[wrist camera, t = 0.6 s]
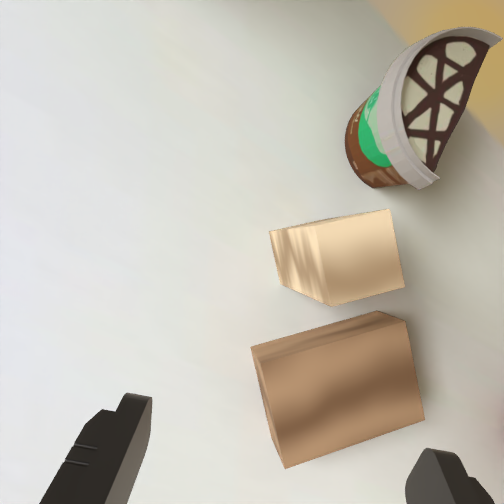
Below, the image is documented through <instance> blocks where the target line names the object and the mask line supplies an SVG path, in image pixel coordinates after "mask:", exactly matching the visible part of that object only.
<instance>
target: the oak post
mask: <svg viewBox="0 0 504 504" xmlns="http://www.w3.org/2000/svg"><path fill="white" fill-rule="evenodd" d="M269 234H270V239H271V243H272V248H273V253H274V257H275V262H276V266H277V271H278V276H279V280H280V284H282V285H284V286H286V287H288V288H291V289H293V290H295V291H297V292H300V293H302V294H304V295H306V296H308V297H311V298H313V299H315V300H317V301H320V302H322V303H324V304H326V305H328V306H331V307H333V306H337V305H340V304H344V303H348V302H351V301H355V300H359V299H362V298H366V297H370V296H374V295H377V294H381V293H385V292H388V291H392V290H396V289H399V288H403V287H405V285H404V279H403V274H402V269H401V264H400V259H399V254H398V248H397V243H396V238H395V233H394V228H393V222H392V217H391V212H390V209H385V210H379V211H373V212H367V213H361V214H355V215H349V216H343V217H336V218H330V219H324V220H318V221H314V222H309V223H305V224H300V225H296V226H292V227H287V228H283V229H278V230H274V231H269Z"/></svg>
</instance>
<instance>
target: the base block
mask: <svg viewBox="0 0 504 504" xmlns="http://www.w3.org/2000/svg"><path fill="white" fill-rule="evenodd" d="M251 351H252V356H253V360H254V364H255V369H256V373H257V377H258V382H259V386H260V390H261V395H262V399H263V403H264V407H265V412H266V416H267V420H268V425H269V429H270V433H271V438H272V440H273V442H274V445H275V447H276V449H277V452H278V454H279V456H280V459H281V461H282V463H283V466H284V468H285V469H287V468H290V467H292V466H295V465H298V464H301V463H304V462H307V461H309V460H312V459H315V458H318V457H321V456H324V455H327V454H329V453H332V452H335V451H338V450H341V449H344V448H346V447H349V446H352V445H355V444H358V443H361V442H363V441H366V440H369V439H372V438H375V437H378V436H381V435H383V434H386V433H389V432H392V431H395V430H398V429H400V428H403V427H406V426H409V425H412V424H415V423H417V422H420V421H423V420H425V417H424V412H423V407H422V402H421V397H420V392H419V387H418V382H417V377H416V372H415V367H414V362H413V357H412V352H411V347H410V342H409V337H408V332H407V327H406V322H405V321H404V320H401V319H398V318H395V317H393V316H390V315H387V314H384V313H382V312H379V311H374V312H371V313H367V314H364V315H360V316H357V317H353V318H350V319H346V320H343V321H339V322H336V323H332V324H329V325H325V326H322V327H318V328H315V329H311V330H308V331H304V332H301V333H297V334H294V335H290V336H287V337H283V338H280V339H276V340H273V341H269V342H266V343H262V344H259V345H255V346H252V347H251Z"/></svg>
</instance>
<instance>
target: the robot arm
mask: <svg viewBox="0 0 504 504" xmlns="http://www.w3.org/2000/svg"><path fill="white" fill-rule="evenodd" d="M151 414H152V397H148V396H143V395H137V394H132V393H126V394H125V395H124V396H123V398H122V400H121V402H120V404H119V406H118V408H117V410H116V412H114V411H109V410H103V409H102V410H101V411H99V412H98V413H97V414H96V415H95V416H94V417H93V418H92V419H90V420H89V421H88V422H87V423H86V424H85V426H84V427H83V429H82V431H81V432H80V434H79V436H78V438H77V439H76V441H75V443H74V446H73V447H72V448H71V450H70V451H69V453H68V455H67V457H66V458H65V462H64V463H63V464H62V465H61V467H60V469H59V470H58V472H57V474H56V476H55V477H54V479H53V481H52V483H51V484H50V486H49V488H48V489H47V491H46V493H45V495H44V496H43V498H42V500H41V502H40V503H39V504H127V502H128V499H129V496H130V494H131V491H132V488H133V485H134V483H135V480H136V477H137V475H138V472H139V469H140V467H141V464H142V461H143V458H144V456H145V453H146V450H147V446H148V442H149V437H150V431H151ZM405 495H406V502H407V504H495V503H494V501H493V499H492V498H491V496H490V495H489V494H488V493H487V492H486V490H485V489H484V488H483V487H482V486H481V484H480V483H479V482H478V481H477V480H476V478H473V477H468V475H467V473H466V470H465V468H464V466H463V464H462V462H461V460H460V458H459V457H458V456H457V455H456V454H455V453H452V452H447V451H441V450H436V449H430V448H426V449H424V450H423V452H422V454H421V455H420V457H419V459H418V461H417V462H416V464H415V466H414V468H413V469H412V471H411V473H410V475H409V476H408V478H407V481H406V486H405Z"/></svg>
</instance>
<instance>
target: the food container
mask: <svg viewBox="0 0 504 504" xmlns="http://www.w3.org/2000/svg"><path fill="white" fill-rule="evenodd" d="M502 39H503V38H501V37H500V36H498V35H496V34H494V33H492V32H490V31H487V30H484V29H480V28H475V27H458V28H454V29H448V30H443V31H440V32H437V33H435V34H432V35H430V36H428V37H426V38H424V39H422V40H420V41H418V42H416V43H414V44H413V45H411V46H409V47H408V48H407V49H405V50H404V51H403V52H402V53H401V54H400V55H399V56H398V57H397V58H396V59H395V61H394V62H393V63H392V64H391V66H390V67H389V69H388V71H387V73H386V75H385V76H384V79H383V82H382V84H381V86H380V87H379V88H378V89H377V90H376V91H375V92H374V93H373V94H372V95H371V96H370V97H369V98H368V99H367V100H366V101H365V102H364V103H363V104H362V105H361V106H360V107H359V108H358V109H357V110H356V111H355V112H354V114H353V115H352V117H351V119H350V120H349V123H348V125H347V129H346V134H345V149H346V154H347V158H348V160H349V163H350V165H351V167H352V169H353V170H354V172H355V173H356V175H357V176H358V177H359V178H360V179H361V180H362V181H363V182H364V183H365V184H367V185H368V186H370V187H371V188H377V187H385V186H394V185H402V184H410V185H412V186H413V187H415V188H416V189H418V190H419V189H422V188H424V187H426V186H428V185H431V184H432V183H433V181H435V180H438V179H440V177H438V176H437V175H436V174H434V171H435V169H436V167H437V163H438V161H439V158H440V156H441V154H442V152H443V150H444V147H445V145H446V143H447V141H448V139H449V137H450V135H451V134H452V132H453V130H454V128H455V126H456V125H457V123H458V121H459V119H460V117H461V115H462V113H463V111H464V109H465V107H466V104H467V101H468V98H469V95H470V92H471V89H472V86H473V83H474V81H475V78H476V76H477V74H478V72H479V69H480V67H481V65H482V63H483V60H484V58H485V56H486V54H487V52H488V49H489V48H491V47H492V46H494V45H495V44H497V43H498V42H499V41H501V40H502Z"/></svg>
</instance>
